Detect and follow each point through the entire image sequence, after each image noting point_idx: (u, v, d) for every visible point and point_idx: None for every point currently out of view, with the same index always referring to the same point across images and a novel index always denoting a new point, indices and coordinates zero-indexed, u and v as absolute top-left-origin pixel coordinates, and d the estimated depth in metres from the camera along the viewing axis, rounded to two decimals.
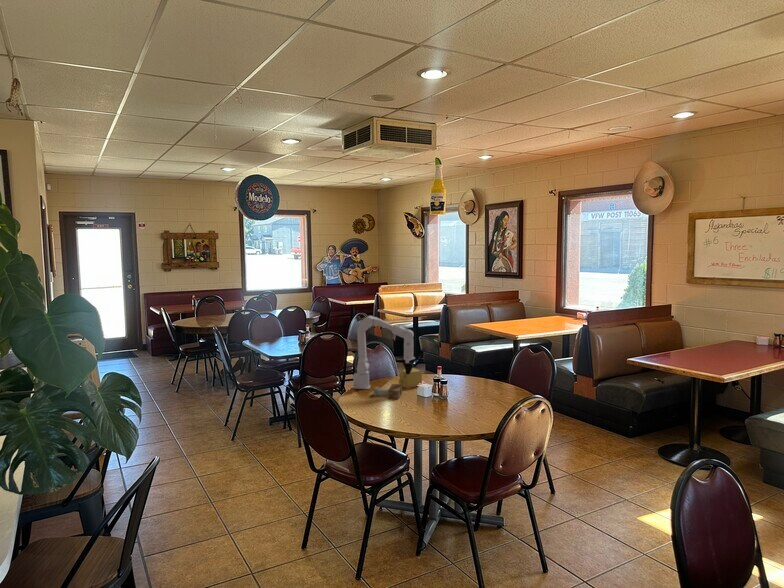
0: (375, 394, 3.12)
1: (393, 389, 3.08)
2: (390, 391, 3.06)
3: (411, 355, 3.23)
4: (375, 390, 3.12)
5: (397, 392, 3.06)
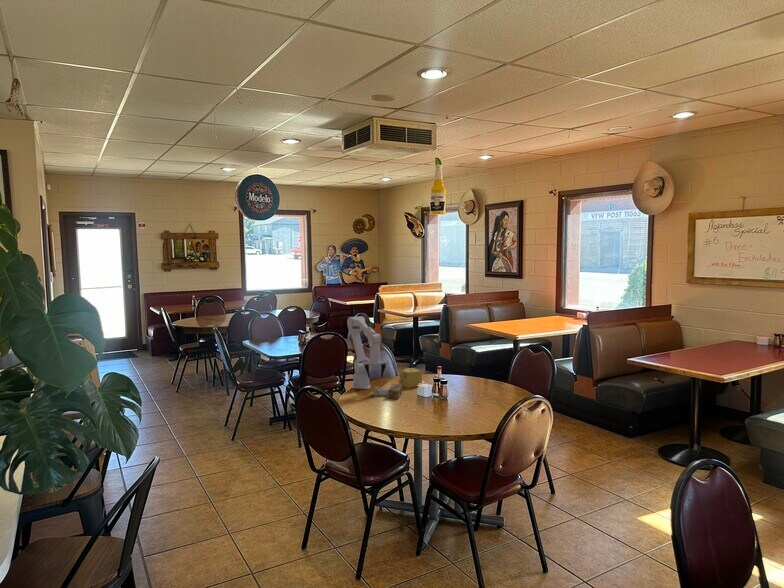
0: (375, 394, 3.12)
1: (393, 389, 3.08)
2: (390, 391, 3.06)
3: (371, 359, 3.14)
4: (375, 390, 3.12)
5: (397, 392, 3.06)
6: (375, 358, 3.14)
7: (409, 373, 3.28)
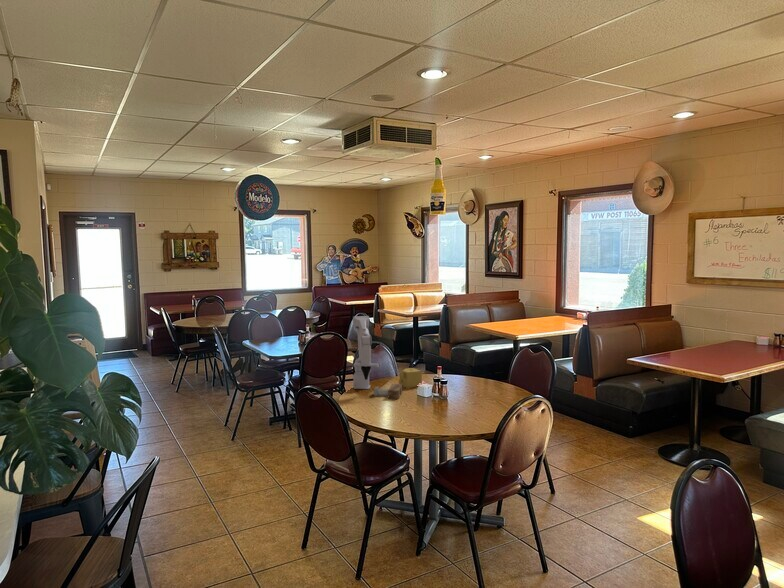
0: (375, 394, 3.12)
1: (393, 389, 3.08)
2: (390, 391, 3.06)
3: (362, 361, 3.12)
4: (375, 390, 3.12)
5: (397, 392, 3.06)
6: (365, 360, 3.11)
7: (409, 373, 3.28)
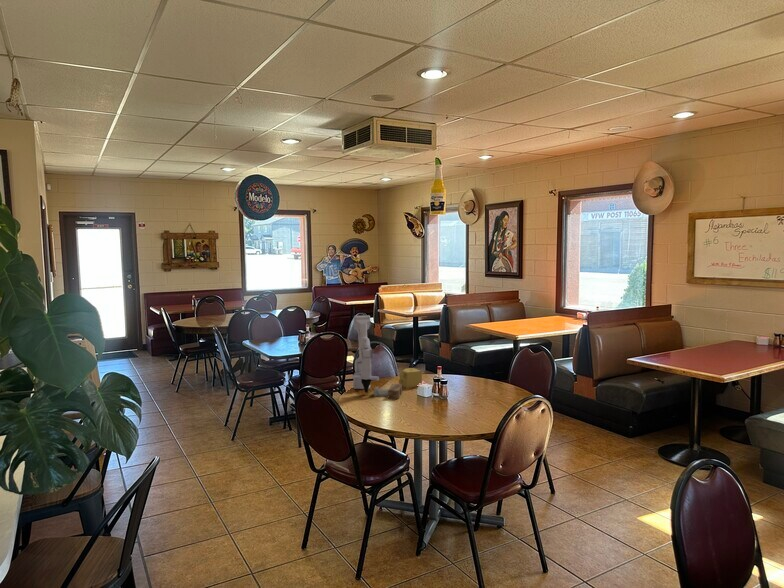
0: (375, 394, 3.12)
1: (393, 389, 3.08)
2: (390, 391, 3.06)
3: (362, 374, 3.13)
4: (375, 390, 3.12)
5: (397, 392, 3.06)
6: (365, 373, 3.12)
7: (409, 373, 3.28)
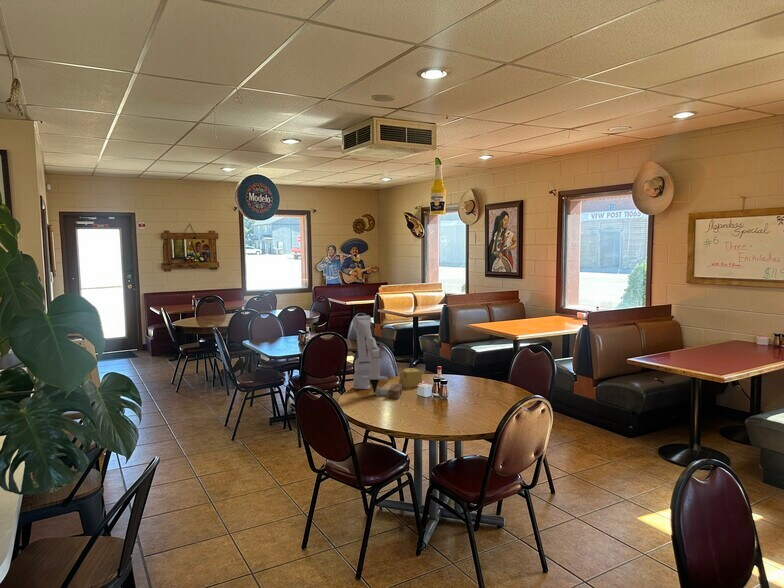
0: (377, 394, 3.12)
1: (393, 389, 3.08)
2: (390, 391, 3.06)
3: (370, 374, 3.12)
4: (377, 390, 3.12)
5: (397, 392, 3.06)
6: (373, 373, 3.11)
7: (409, 373, 3.28)
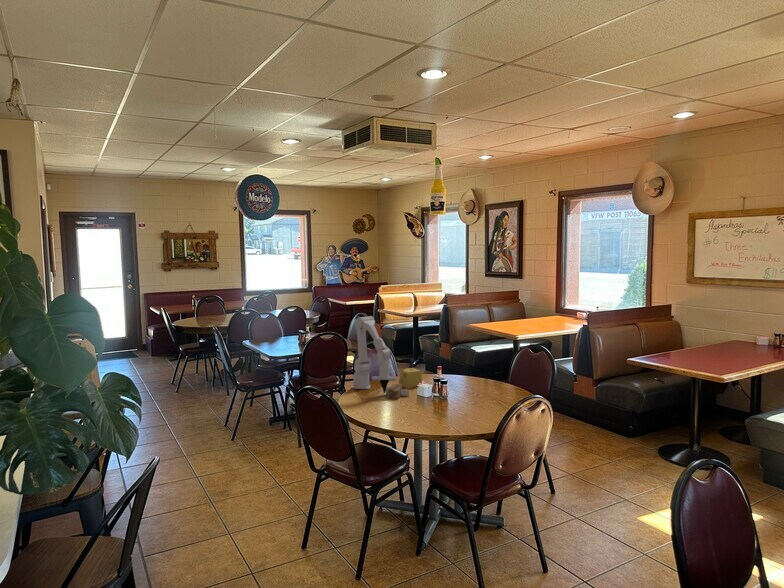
0: (387, 394, 3.11)
1: (393, 389, 3.08)
2: (390, 391, 3.06)
3: (380, 374, 3.12)
4: (387, 390, 3.11)
5: (397, 392, 3.06)
6: (383, 373, 3.10)
7: (409, 373, 3.28)
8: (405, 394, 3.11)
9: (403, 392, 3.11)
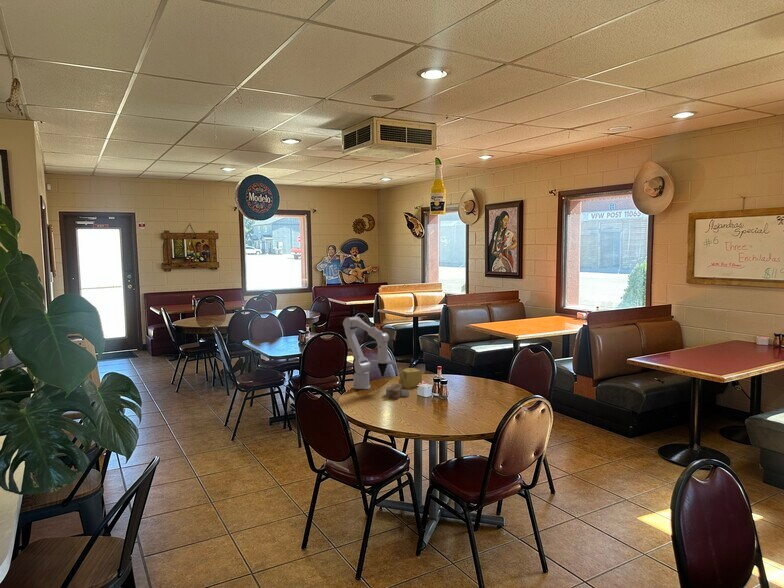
0: (387, 394, 3.11)
1: (393, 389, 3.08)
2: (390, 391, 3.06)
3: (378, 358, 3.19)
4: (387, 390, 3.11)
5: (397, 392, 3.06)
6: (381, 357, 3.17)
7: (409, 373, 3.28)
8: (405, 394, 3.11)
9: (403, 392, 3.11)
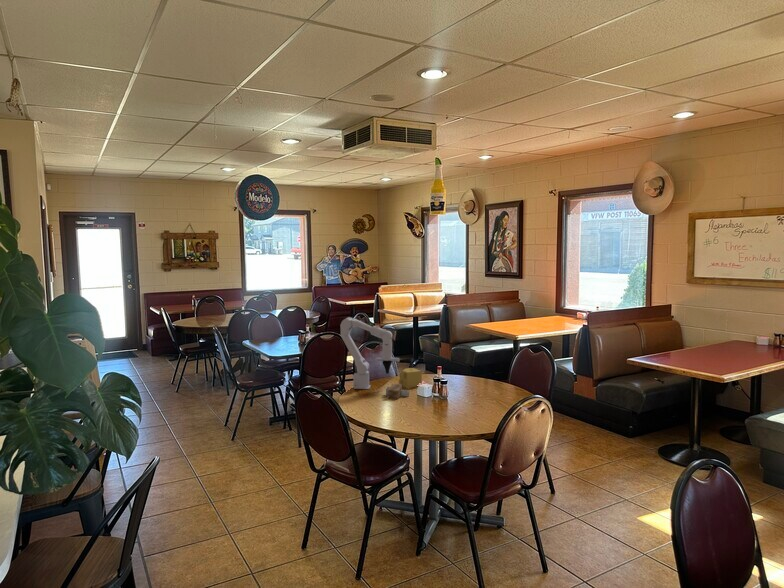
0: (387, 394, 3.11)
1: (393, 389, 3.08)
2: (390, 391, 3.06)
3: (383, 355, 3.26)
4: (387, 390, 3.11)
5: (397, 392, 3.06)
6: (386, 354, 3.24)
7: (409, 373, 3.28)
8: (405, 394, 3.11)
9: (403, 392, 3.11)
